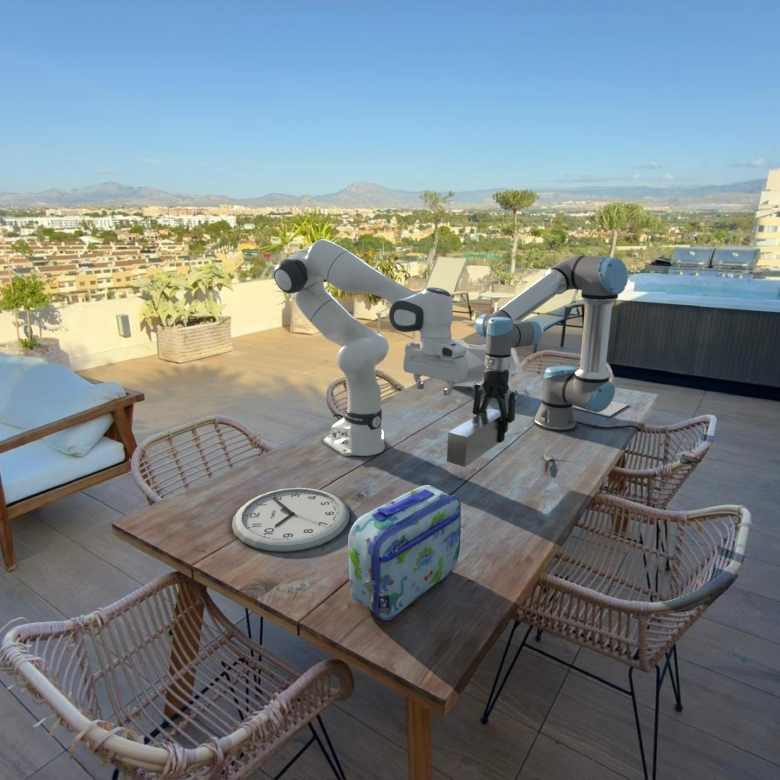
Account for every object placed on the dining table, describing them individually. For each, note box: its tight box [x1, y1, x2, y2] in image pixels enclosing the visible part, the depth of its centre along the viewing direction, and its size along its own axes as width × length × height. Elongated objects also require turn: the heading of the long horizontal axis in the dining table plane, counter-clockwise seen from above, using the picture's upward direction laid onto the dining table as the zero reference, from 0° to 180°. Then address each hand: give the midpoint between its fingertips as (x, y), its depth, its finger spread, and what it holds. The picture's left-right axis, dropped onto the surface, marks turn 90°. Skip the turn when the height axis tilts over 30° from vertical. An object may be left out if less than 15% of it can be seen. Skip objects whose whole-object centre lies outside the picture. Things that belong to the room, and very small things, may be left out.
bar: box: [446, 407, 506, 468], centre depth 158 cm, size 26×6×9 cm, turn 143°
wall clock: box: [231, 487, 351, 553], centre depth 136 cm, size 30×2×30 cm
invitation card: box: [573, 400, 629, 418], centre depth 226 cm, size 21×1×15 cm
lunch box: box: [347, 484, 462, 621], centre depth 107 cm, size 26×11×21 cm, turn 134°
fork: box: [543, 448, 554, 473], centre depth 170 cm, size 3×16×2 cm, turn 160°
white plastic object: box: [441, 310, 531, 400], centre depth 245 cm, size 37×45×31 cm
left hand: (433, 391), depth 153 cm, fingers open, 8 cm apart
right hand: (491, 438), depth 166 cm, fingers closed on bar, 6 cm apart
